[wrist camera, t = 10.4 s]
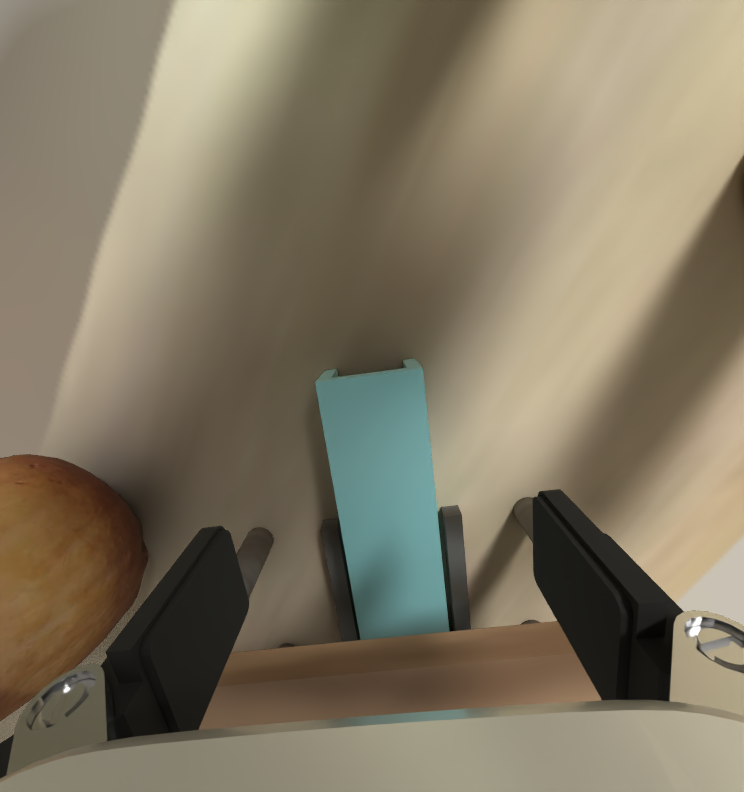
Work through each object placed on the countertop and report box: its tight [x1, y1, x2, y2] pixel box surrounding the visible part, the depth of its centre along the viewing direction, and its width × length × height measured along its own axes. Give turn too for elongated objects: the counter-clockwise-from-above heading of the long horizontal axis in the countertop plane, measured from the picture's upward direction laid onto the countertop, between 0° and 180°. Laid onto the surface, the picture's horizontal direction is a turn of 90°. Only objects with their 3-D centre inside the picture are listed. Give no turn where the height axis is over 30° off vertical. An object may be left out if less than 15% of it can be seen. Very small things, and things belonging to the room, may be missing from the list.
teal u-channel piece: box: [315, 358, 449, 640], centre depth 24 cm, size 22×6×4 cm, turn 8°
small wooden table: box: [199, 497, 602, 730], centre depth 22 cm, size 13×22×12 cm, turn 98°
